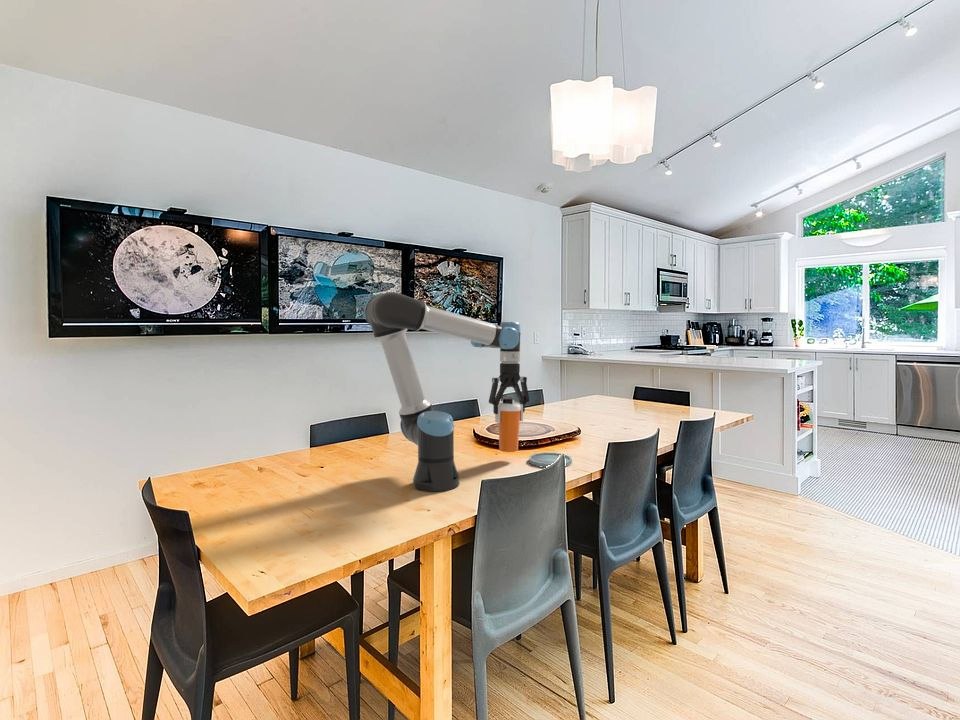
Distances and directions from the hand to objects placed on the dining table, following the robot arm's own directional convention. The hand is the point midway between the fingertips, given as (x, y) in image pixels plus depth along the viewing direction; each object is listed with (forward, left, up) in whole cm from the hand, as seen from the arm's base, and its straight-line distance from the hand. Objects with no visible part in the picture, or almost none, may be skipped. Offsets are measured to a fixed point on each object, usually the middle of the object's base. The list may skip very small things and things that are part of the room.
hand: (509, 421), depth 194 cm
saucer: (+13, -8, -15) cm, 22 cm away
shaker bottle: (0, 0, -11) cm, 11 cm away
